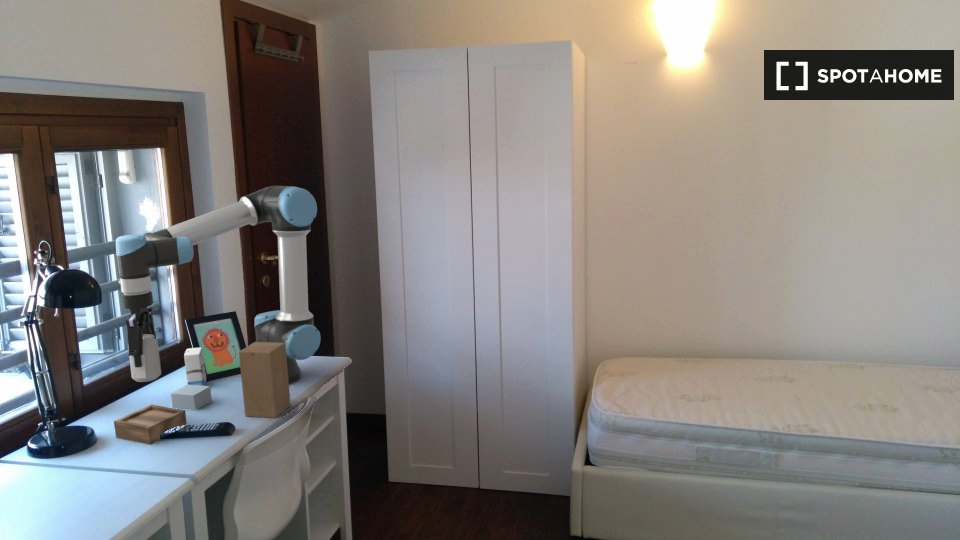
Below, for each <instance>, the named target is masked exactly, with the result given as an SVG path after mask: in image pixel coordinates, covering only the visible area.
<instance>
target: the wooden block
mask: <svg viewBox="0 0 960 540" xmlns="http://www.w3.org/2000/svg"><path fill="white" fill-rule="evenodd" d="M238 356H239V368H240V377H241V388H242V397H243V398H242V399H243V408H244V416H245V417H252V418H254V417H255V418H273V419H275V418H277V417H279V416H280V415H281V414H283V413H284V412H285V411H286V410H287V409H288V408H289V407H290V406H291V394H290V393H291V392H290V384H289V381H288V369H287V357H286V346H285V343H279V342H256V341H254V342H252V343H251V344H249V345H248V346H245V348H243V349H241V350H239V352H238Z"/></svg>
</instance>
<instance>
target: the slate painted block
mask: <svg viewBox="0 0 960 540" xmlns="http://www.w3.org/2000/svg"><path fill="white" fill-rule="evenodd" d="M170 396H171V405H172V408H175V409H176V408H177V409H179V410H183V409H191V410H190V411H194V410H196V409H197V410H199V409H200V407H201V408H202V407H203V405H204V406H206V405H207V404H209V403H210V402H212V401H213V400H212V392H211V386H210V385H204V386H200V385H188V384H186V385H184V386H183V387H180V388H179V389H177V390H175V391H173V392H172V393H170ZM205 404H206V405H205ZM198 408H199V409H198ZM197 410H196V411H197Z"/></svg>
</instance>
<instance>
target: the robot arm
mask: <svg viewBox="0 0 960 540" xmlns="http://www.w3.org/2000/svg"><path fill="white" fill-rule="evenodd" d="M317 212H318V206H317V201H316V199H315V197H314V195H313V194H311V192H310V191H308V190H307V189H305V188H301V187H298V186H293V185H292V186H290V185H289V186H287V185H284V186H283V185H271V186H267V187H264V188H262V189H259V190H257V191H255V192H251V193H249V194H246V195H244V196H241V197H240V199H239V201H236V202H234V203H231V204H228V205H226V206H223V207H220V208H218V209H217V208H216V209H215V210H212V211H209V212H207V213H205V214H200V215H199V216H196V217H193V218H191V219H188V220H185V221H182V222H179V223H176V224H174V225H171V226H168V227H166V228H163V229H159V230H158V231H154V232H144V233H140V234H139V233H138V234H137V233H136V234H135V233H134V234H125V235H120V236H118V237H117V238H116V239H115V256H116V261H117V268H118V273H119V275H118V276H119V280H118V284H119V285H120V290H121V291H120V292H121V293H123V294H122V295H121V300H122V301H121V303H122V307H123V308H124V309H127V310H128V309H129V313H130V314H129V318H126V319H125V322H126V328H127V341H128V342H127V348H128V347H129V351H128V357H129V356H133V361H134V369H135V378H146V377H147V374H146V365H145V357H144V354H143V334H152V335H154V336H155V337H154V338H155V339H156V340H157V335H156V330H155V323H154V316H153V308H152V306H153V304H154V298H153V297H154V296H153V292H152V291H151V290H152V289H153V288H152V278H151V272H150V271H151V270H150V269H155V268H159V267H161V268H162V267H168V266H175V265H182V264H186V263H190V262H191V261H192V260H193V257H194V254H195V253H194V246H195V245H198V244H200V243H203V242H206V241H207V240H211V239H214V238H216V237H219V236H221V235H224V234H226V233H229V232H232V231H234V230H237V229H239V228H242V227H244V226H247V225H250V226H256V225H259V224H262V223H263V224H264V223H271V228H272V230H271V231H272V232H273V233H274V234H275V235H276V236H277V252H278V253H277V254H278V257H277V258H278V277H279V278H278V281H279V282H278V284H279V303H280V304H279V305H280V306H279V308H280V310H279V309H277V310H272V311H267V312H265V311H264V312H262V313H258V314H256V316H255V317H254V325H253V326H254V334H255V342H279V343H285V346H286V357H287V369H288V381H289V385H290V384H293V383H295V382H297V381H299V380H300V379H301V378H302V372H301V370H302V369H301V368H300V367H299V364H298V361H303V360H306V359H309V358H311V357H312V356H313V355H315V353H316V352H317V350H318V349H319V347H320V344H321V339H322V338H321V337H322V336H321V332H320V331H319V330H318V328H317V327H316V326H315V323H314V314H313V313H312V312H310V310H309V293H308V291H309V287H308V260H307V258H308V257H307V252H308V250H307V235H308V234H309V233H310V232H311V231H312V230H311V229H312V227H311V226H312V225H311V224H312V223H313V221H314V219H316V217H317V214H318V213H317ZM135 350H136V351H135ZM297 360H298V361H297Z"/></svg>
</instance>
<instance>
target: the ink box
mask: <svg viewBox="0 0 960 540" xmlns="http://www.w3.org/2000/svg"><path fill="white" fill-rule="evenodd" d="M183 355H184V356H183V358H184V365H185V366H184V367H185V374H186V381H187V385H200V386H206V381H207V373H206V368H205V362H204V361H205V360H204V351H203V348H202V347H190V348H186V350H185V351H184V354H183Z"/></svg>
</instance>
